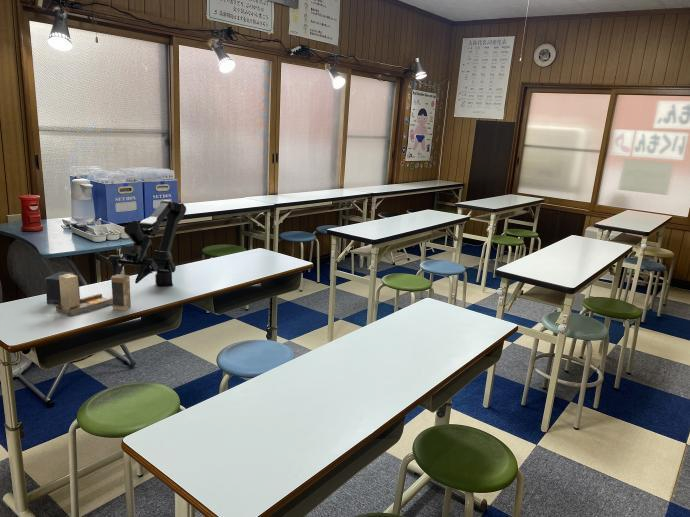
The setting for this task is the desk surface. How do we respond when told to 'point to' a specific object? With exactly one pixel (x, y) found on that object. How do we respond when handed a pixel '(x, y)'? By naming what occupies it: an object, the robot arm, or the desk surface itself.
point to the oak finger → (121, 292)
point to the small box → (54, 288)
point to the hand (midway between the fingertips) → (124, 281)
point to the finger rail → (77, 297)
